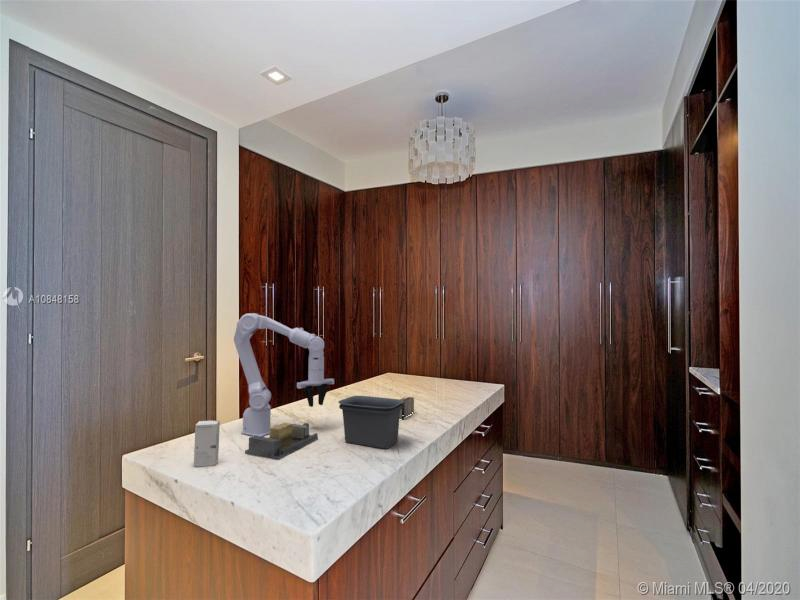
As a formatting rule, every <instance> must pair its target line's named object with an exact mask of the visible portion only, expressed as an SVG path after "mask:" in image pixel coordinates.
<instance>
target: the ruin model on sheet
mask: <svg viewBox="0 0 800 600" xmlns="http://www.w3.org/2000/svg"><path fill="white" fill-rule="evenodd" d="M399 400H403V401H404V402H403V403H402V404H403V408H402V409H400V417H399V419H402V420H403V418H404V417H406V416H408V415H410V414H412V412H413V413H414V414H415V397H411V396H407V397H406V396H404V397H402V398H400V399H399ZM402 415H404V417H402Z"/></svg>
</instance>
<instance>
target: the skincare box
mask: <svg viewBox="0 0 800 600" xmlns="http://www.w3.org/2000/svg"><path fill="white" fill-rule="evenodd" d="M220 424H221V422H220V420H219V419H218V420H199V421H198V422H197V423H196V424H195V427H194V449H193V452H194V455H193V467H209V466H211V467H212V466H216V464H217V463H218V461H219V450H220V449H219V448H220V429H221V428H220V426H221V425H220Z"/></svg>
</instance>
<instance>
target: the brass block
mask: <svg viewBox="0 0 800 600" xmlns="http://www.w3.org/2000/svg"><path fill="white" fill-rule="evenodd" d="M292 424H293V423H290V422H289V423H288V422H282V423H280V424H276V425H274V426H271V427H270V433H269V437H270V438H272V439H278V440H280V447H282V446H284V445H286V444H288V443H290V442H292Z"/></svg>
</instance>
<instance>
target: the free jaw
mask: <svg viewBox="0 0 800 600" xmlns="http://www.w3.org/2000/svg"><path fill="white" fill-rule="evenodd" d="M291 424H292V438H295V439H301V440H303V439H305V438H307V437H309V435H310V424H309V423H308V422H304V423H303V424H296V423H291Z"/></svg>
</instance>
